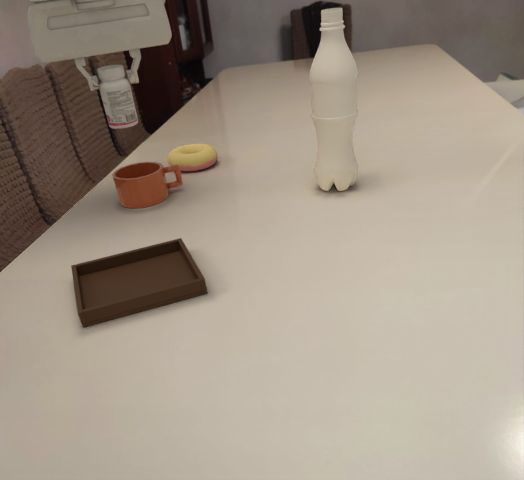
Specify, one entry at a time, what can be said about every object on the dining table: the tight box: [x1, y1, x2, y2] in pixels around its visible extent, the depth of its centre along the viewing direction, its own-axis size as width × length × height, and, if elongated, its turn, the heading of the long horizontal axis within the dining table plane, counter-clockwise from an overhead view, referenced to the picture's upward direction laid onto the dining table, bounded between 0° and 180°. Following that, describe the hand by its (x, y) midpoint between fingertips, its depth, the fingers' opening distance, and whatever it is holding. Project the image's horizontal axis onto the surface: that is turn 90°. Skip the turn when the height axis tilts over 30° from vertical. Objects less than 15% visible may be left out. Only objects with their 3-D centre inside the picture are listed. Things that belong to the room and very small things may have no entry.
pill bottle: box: [96, 64, 139, 130], centre depth 83 cm, size 5×5×8 cm
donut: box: [167, 143, 218, 172], centre depth 105 cm, size 10×5×9 cm
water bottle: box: [308, 7, 359, 192], centre depth 81 cm, size 7×7×25 cm
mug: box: [111, 161, 184, 209], centre depth 93 cm, size 12×9×5 cm
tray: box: [71, 237, 208, 328], centre depth 68 cm, size 15×13×2 cm
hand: (114, 86), depth 82 cm, fingers closed on pill bottle, 5 cm apart
